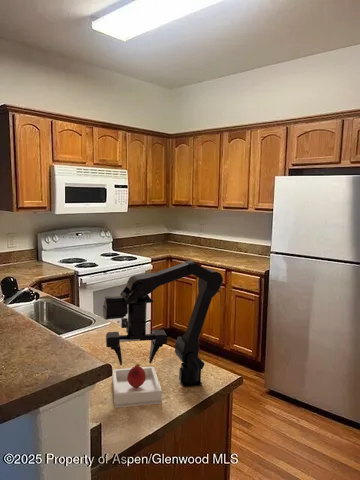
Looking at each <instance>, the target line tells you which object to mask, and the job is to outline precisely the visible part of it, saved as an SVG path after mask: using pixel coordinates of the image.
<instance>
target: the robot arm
mask: <svg viewBox="0 0 360 480" xmlns="http://www.w3.org/2000/svg"><path fill="white" fill-rule="evenodd" d="M192 275H193V276H195V277H196V278H198V280H197V281H198V282H197V288H198V289H197V290H198V294H197V297H196V299H195V302H194V306H193V309H192V312H191V315H190V318H189V321H188V324H187V327H186V329H185V332H184V334H183V335H182V336H180V335H178V336H177V338H176V342H175V344H174V346H173V348H174V353H175V356H177V358H178V359H179V360H180V361H181V364H180V365H181V367H179V369H178V370H179V372H178V373H179V375H178V378H179V382H180V383H181V385H182V387H183V388H187V387H188V388H191V387H198V386H199V387H202V386H203V383H202V381H201V380H202V370H203V369H204V366H205V362H204V361H203V360H202V359H201V358H200V356H199V352H200V336H201V333H202V329H203V326H204V323H205V320H206V317H207V315H208V311H209V308H210V305H211V302H212V299H213V298H214V297H215V296H216V294H218V293H219V291H220V289H221V286H222V285H223V282H224V278H223V276H222V274H221V273H220V272H218V271H217V270H214V269H212V268H208V267H207V268H205V267H203V266H201V265H199V264H198V263H197V262H195V261H193V260H185V261H184V262H182V263H179V264H177V265H176V264H175V265H174V266H170V267H168V268H165V269H162V270H159V271H156V272H153V273H141V274H134V275H132V276H130V277H129V278H128V280H127V283H126V285H125V287H124V288H123V289H122V291H121V293H120V294H119V296H105V297H104V301H103V305H102V316H103V320H105V321H106V320H117V319H121V321H120V327H121V329H126V331H125V332H126V334H123V335H120V332H119V331H109V332H106V334H105V345H106V348H110V350H113V351H114V352H115V354H116V356H117V359H118V362H119V365H120V366H122V365H123V358H122V348H121V344H120V343H123V342H140V341H141V342H142V341H143V342H144V341H145V342H146V341H150V351H149V356H148V359H149V360H148V362H149V364H152V362H153V360H154V359H155V356H156V354H157V352H158V351H159V349H160V348H162V347H163V345H167V344H168V336H167V334H166V332H165V330H164V329H152V331H151V333H147V306H148V305H147V304H151V303H154V300H153V299H152V298H151V297H150V295H149V294H151V293H153V292H154V291H155V290H156V289H157V288H160V286H161V287H162V286H163V285H167V284H169V283H172V282H174V281H177V280H180V279H183V278H185V277H188V276H192ZM126 317H127V318H126Z"/></svg>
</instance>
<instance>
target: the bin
mask: <svg viewBox="0 0 360 480" xmlns="http://www.w3.org/2000/svg"><path fill="white" fill-rule="evenodd" d="M140 367H141V366H140ZM132 368H133V367H132ZM132 368H131V367H129V368H115V369H112V370H113V376H112V377H111V379H112V380H111V381H112V391H113V392H112V393H113V401H114V408H115V409H117V408H127V407H136V406H139V407H140V406H147V405H159V404H162V401H163V400H162V399H163V390H162V388H161V384H160V380H159V379H158V376H157V372H156V369H155V367H154V366H145V367H144V366H143V367H141V368H142V369H143V370H144V371H145V375H146V379H145V382H144V383H143V384H142V385H141V386H140V387H138V388H134V387H132V386H131V385H130V384H129V382H128V379H127V377H128V373H129V371H130V370H131V369H132Z"/></svg>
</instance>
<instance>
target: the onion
mask: <svg viewBox="0 0 360 480" xmlns="http://www.w3.org/2000/svg"><path fill="white" fill-rule="evenodd" d="M127 379H128V382H129V384H130V385H131V386H132V387H134V388H138V387H140V386H141V385H142V384H143V383H144V382H145V379H146V375H145V371H144V370H143V369H142V368H141V366H140V363H136V364H135V366H133V367H132V369H131V370H130V371H129V373H128V377H127Z"/></svg>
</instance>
